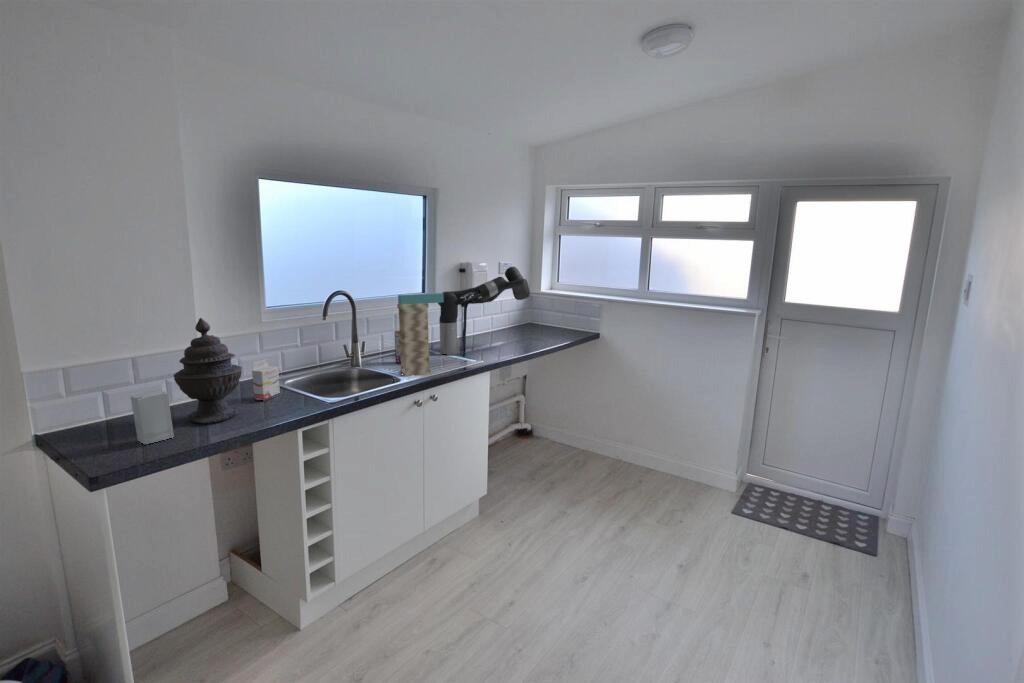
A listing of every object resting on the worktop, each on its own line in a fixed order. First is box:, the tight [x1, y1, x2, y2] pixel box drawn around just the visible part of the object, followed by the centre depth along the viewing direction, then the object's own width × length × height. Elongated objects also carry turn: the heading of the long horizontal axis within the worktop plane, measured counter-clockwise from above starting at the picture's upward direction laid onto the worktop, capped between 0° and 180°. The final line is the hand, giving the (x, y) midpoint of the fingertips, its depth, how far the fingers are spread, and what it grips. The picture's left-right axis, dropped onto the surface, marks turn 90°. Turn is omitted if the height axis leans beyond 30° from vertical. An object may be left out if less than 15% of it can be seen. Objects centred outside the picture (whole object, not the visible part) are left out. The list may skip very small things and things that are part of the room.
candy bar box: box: [394, 328, 401, 363], centre depth 266 cm, size 11×5×16 cm, turn 84°
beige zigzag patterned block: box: [396, 303, 432, 377], centre depth 242 cm, size 12×7×32 cm, turn 120°
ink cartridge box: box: [251, 358, 281, 399], centre depth 205 cm, size 9×5×15 cm, turn 160°
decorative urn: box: [173, 317, 243, 424], centre depth 181 cm, size 20×20×35 cm
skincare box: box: [130, 389, 175, 444], centre depth 161 cm, size 8×6×15 cm
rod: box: [397, 292, 444, 305], centre depth 241 cm, size 20×4×4 cm, turn 120°
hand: (457, 304), depth 255 cm, fingers open, 8 cm apart
